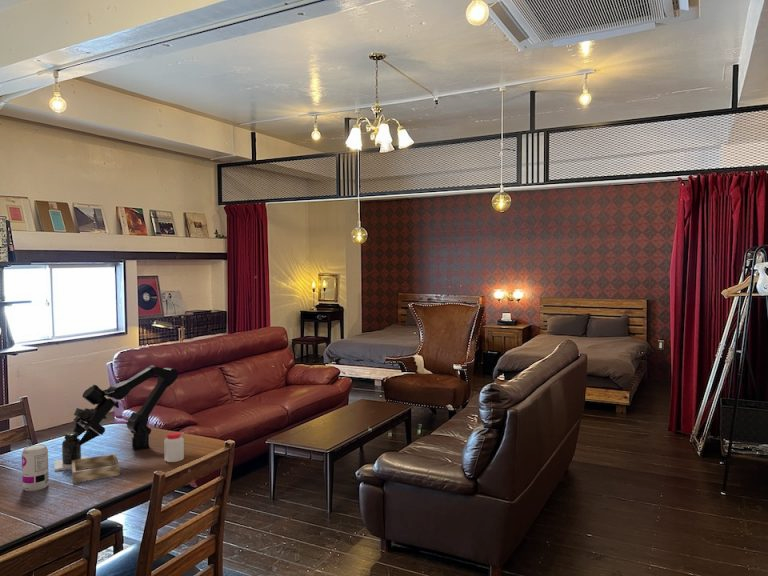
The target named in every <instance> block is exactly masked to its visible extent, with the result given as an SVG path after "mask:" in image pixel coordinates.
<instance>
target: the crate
mask: <svg viewBox="0 0 768 576" xmlns="http://www.w3.org/2000/svg"><path fill="white" fill-rule="evenodd" d="M93 467H95V468H93ZM85 468H88V469H85ZM80 469H82V470H80ZM120 474H121V473H120V463H119V460H118V458H117V455H116V453H111V454H106V455H105V454H104V455H99V456H98V455H97V456H93V457H87V458H85V459H78V460H72V469H71V475H72V476H71V477H72V484H76V483H81V481H82V482H87V481H86V480H88V481H93V479H94V480H99V479H103V478H104V479H105V478H111V477H117V476H120ZM75 482H76V483H75Z"/></svg>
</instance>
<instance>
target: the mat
mask: <svg viewBox="0 0 768 576" xmlns="http://www.w3.org/2000/svg"><path fill="white" fill-rule="evenodd" d="M85 458H88V455H81V459H85ZM66 469H68V470H72V464H63V462H62V459H56V460H54V472H60V471H59V470H62V471H66Z"/></svg>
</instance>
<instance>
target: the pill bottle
mask: <svg viewBox="0 0 768 576" xmlns="http://www.w3.org/2000/svg"><path fill="white" fill-rule="evenodd" d="M184 440H185V439H184V437H183V436H181V431H171V432H167V434H166V438H164V440H163V441H164V444H163V447H164V449H163V450H164V451H163V452H164V461H165V462H166V461H167V463H175V462H180V461H182V460H184V459H185V452H184V451H185V450H184V449H185V448H184V447H185V446H184Z"/></svg>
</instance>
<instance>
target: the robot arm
mask: <svg viewBox="0 0 768 576" xmlns="http://www.w3.org/2000/svg"><path fill="white" fill-rule="evenodd" d="M178 372H179V371H178V370H177V369H175V368H171V367H163V368H162V367H159V366H156V365H149V366H148V367H146V368H145V369H143V370H141V371H140V372H138V373H136V374H135V375H133V376H132V377H130V378H128V379H126V380H123V381H121V382H117V383H115V384H111V385H110V386H109V387H108V388H105V389H101V388H100V387H99V386H98V385H96V384H93V385H92V386H89V387H88V388H87V389H85V391H84V392H82V393H83V394H82V395H81V396H82V398H83V399H84V400H86V401H87V402H88V403H89V404H91V405H94V406H95V407H94V408H86V407H85V408H84V409H82V408H78V407H76V409H75V411H74V414H73V416H75V417H74V418H73V424H74V428H73V430H72V432H78V437H79V436H81V435H82V434H83V433H84V435H83V436H82V438H81V439H80V442H79V445H81V446H83V445H84V444H85V443H88V442H90V441H91V440H93V439H95V438H97V437H100V436H103V435H104V433H106V428H105V427H104V426H103V425H101V422H102V421H103V420H107V415H108V414H109V413H110V412H111V410H112V409H113V408H116V409H119V408H120V406H119V405H120V404H119V403H120V402H119V401H120V400H123V399H124V398H126V397H127V396H128V395H129V394H130V392H131V391H132V390H133V389H134V388H136V387H138V386H139V385H141V384H143V383H144V382H146V381H147V380H149V379H150V378H152V377H153V376H157V383H156V385H155V386H154V388H153V389H152V390H151V392H150V394H149V395H148V396H147V398H146V400H145V401H144V403H143V404H142V406H141V407H140V409H139V410H138V411H137V412H134V411H133V412H131V414H130V416H129V418H127V419H126V420H127V421H126V427H127V429H128V430H129V431H130V433H131V434H132V437H131V447H132V449H133V450H134V451H136V450H137V451H138V450H142V449H149V448H150V447H151V446H150V443H149V442H150V437H149V435H151V433H152V428H150V427H149V426H148V423H149V418H150V414H151V413H152V411H153V410H154V408H155V407H156V406H157V404H158V402H159V401H160V400H161V398H162V396H163V394H164V393H165V391H166V390H167V388H169V387H170V386H172V385H173V384H174V383H175V381H177V379H178V378H179V373H178ZM107 397H108V398H107ZM113 399H114V400H113ZM116 400H117V401H116Z"/></svg>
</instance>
